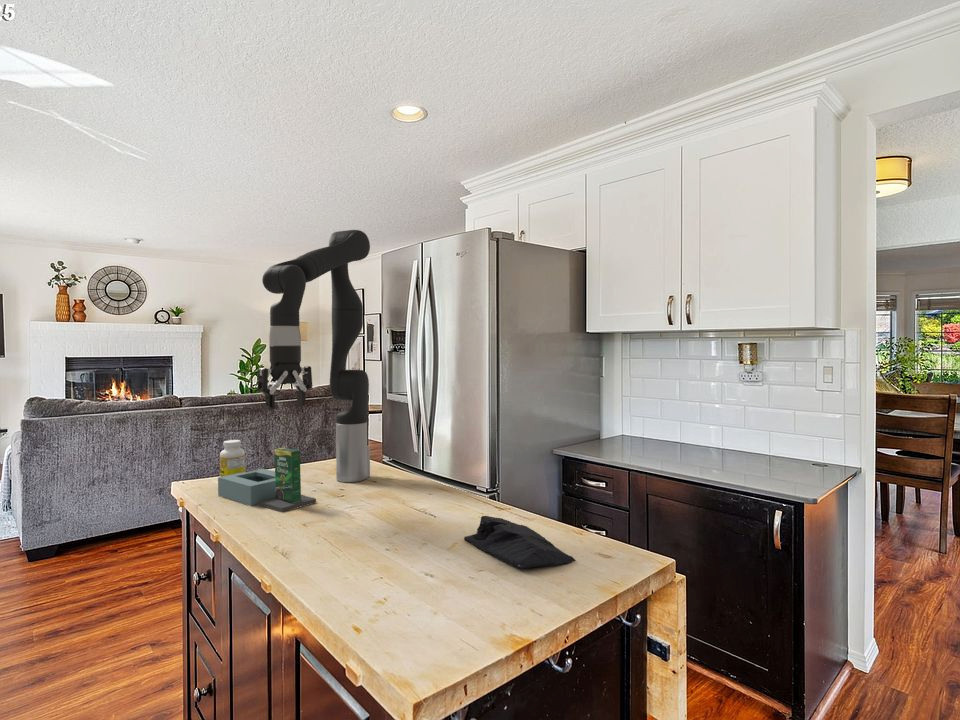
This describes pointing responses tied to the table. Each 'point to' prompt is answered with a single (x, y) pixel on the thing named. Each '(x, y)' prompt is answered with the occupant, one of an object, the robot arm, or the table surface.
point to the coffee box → (287, 474)
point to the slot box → (248, 486)
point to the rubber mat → (285, 503)
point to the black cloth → (516, 544)
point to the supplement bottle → (232, 458)
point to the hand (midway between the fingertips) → (286, 407)
